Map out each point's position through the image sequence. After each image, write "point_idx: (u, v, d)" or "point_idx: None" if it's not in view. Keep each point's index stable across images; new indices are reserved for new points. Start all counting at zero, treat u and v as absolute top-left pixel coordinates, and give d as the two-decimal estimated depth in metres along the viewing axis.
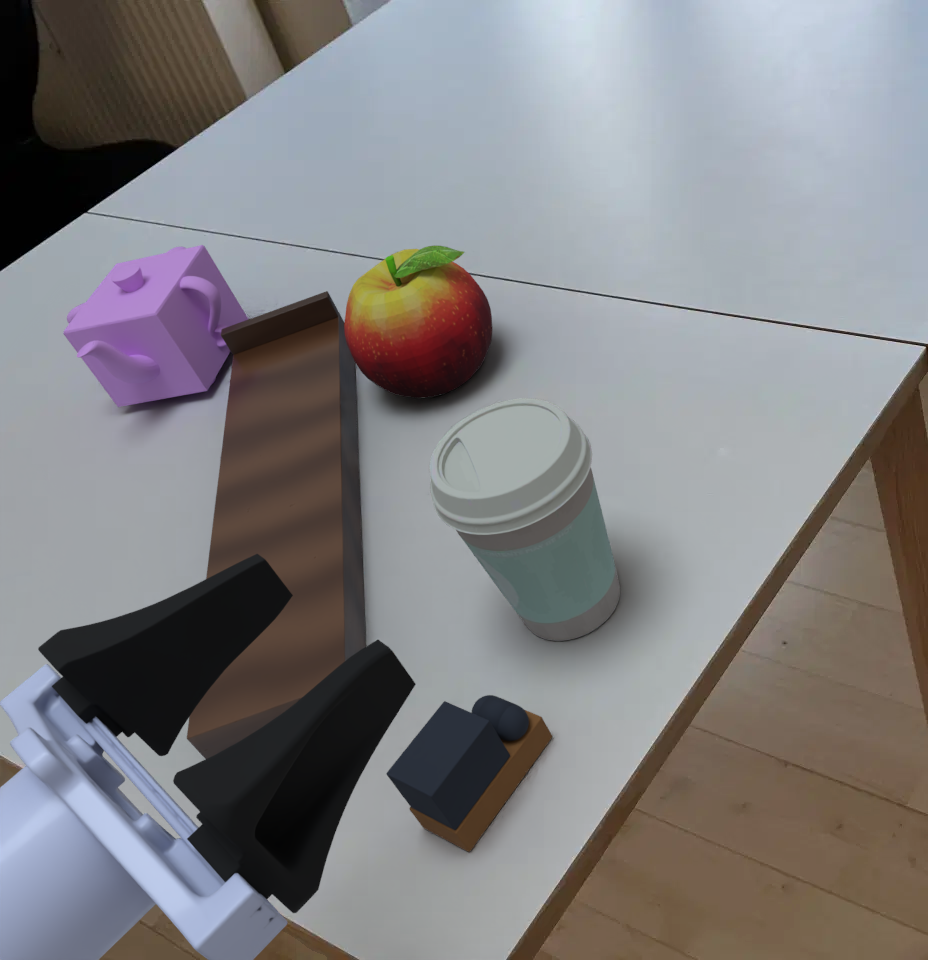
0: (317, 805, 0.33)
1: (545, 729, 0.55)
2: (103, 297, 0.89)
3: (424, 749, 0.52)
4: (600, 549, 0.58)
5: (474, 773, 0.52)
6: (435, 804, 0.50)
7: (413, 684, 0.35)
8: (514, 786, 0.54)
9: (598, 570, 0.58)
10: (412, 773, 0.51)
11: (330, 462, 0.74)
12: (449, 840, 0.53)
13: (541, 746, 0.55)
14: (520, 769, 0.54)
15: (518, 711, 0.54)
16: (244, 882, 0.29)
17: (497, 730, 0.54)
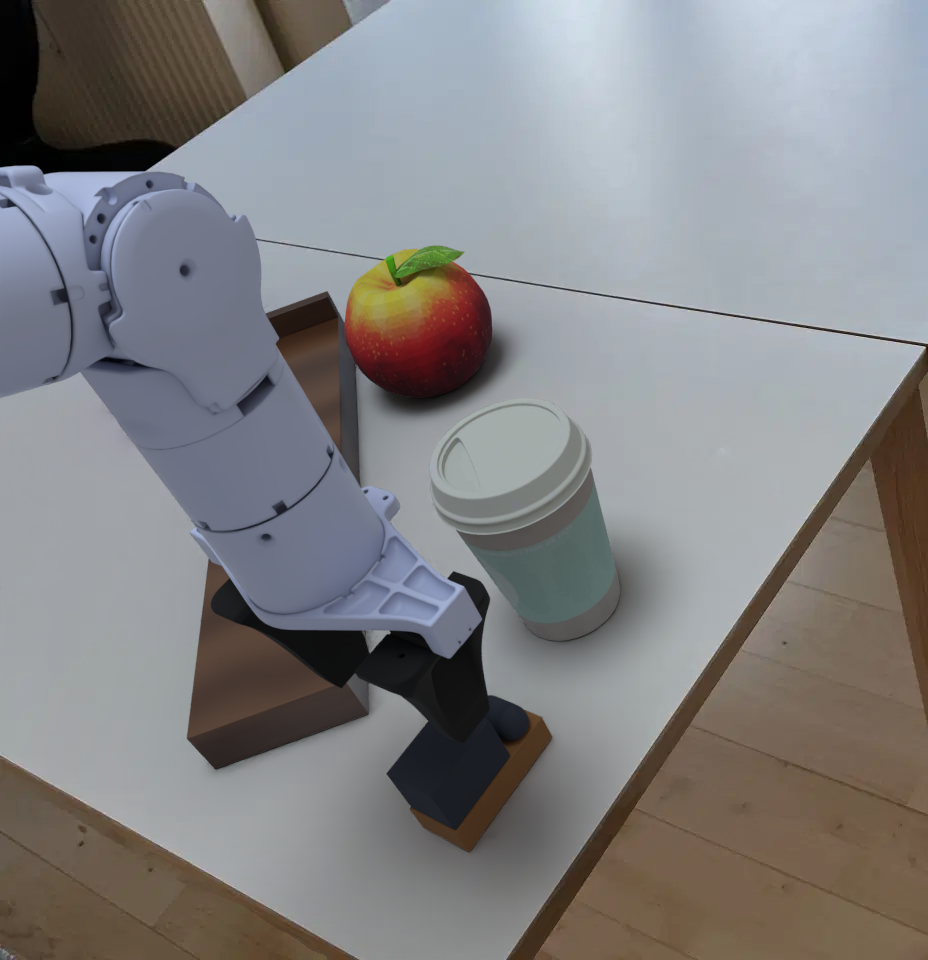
0: None
1: (545, 729, 0.55)
2: None
3: (424, 749, 0.52)
4: (600, 549, 0.58)
5: (474, 773, 0.52)
6: (435, 804, 0.50)
7: (465, 740, 0.46)
8: (514, 786, 0.54)
9: (598, 570, 0.58)
10: (412, 773, 0.51)
11: None
12: (449, 840, 0.53)
13: (541, 746, 0.55)
14: (520, 769, 0.54)
15: (518, 711, 0.54)
16: None
17: (497, 730, 0.54)
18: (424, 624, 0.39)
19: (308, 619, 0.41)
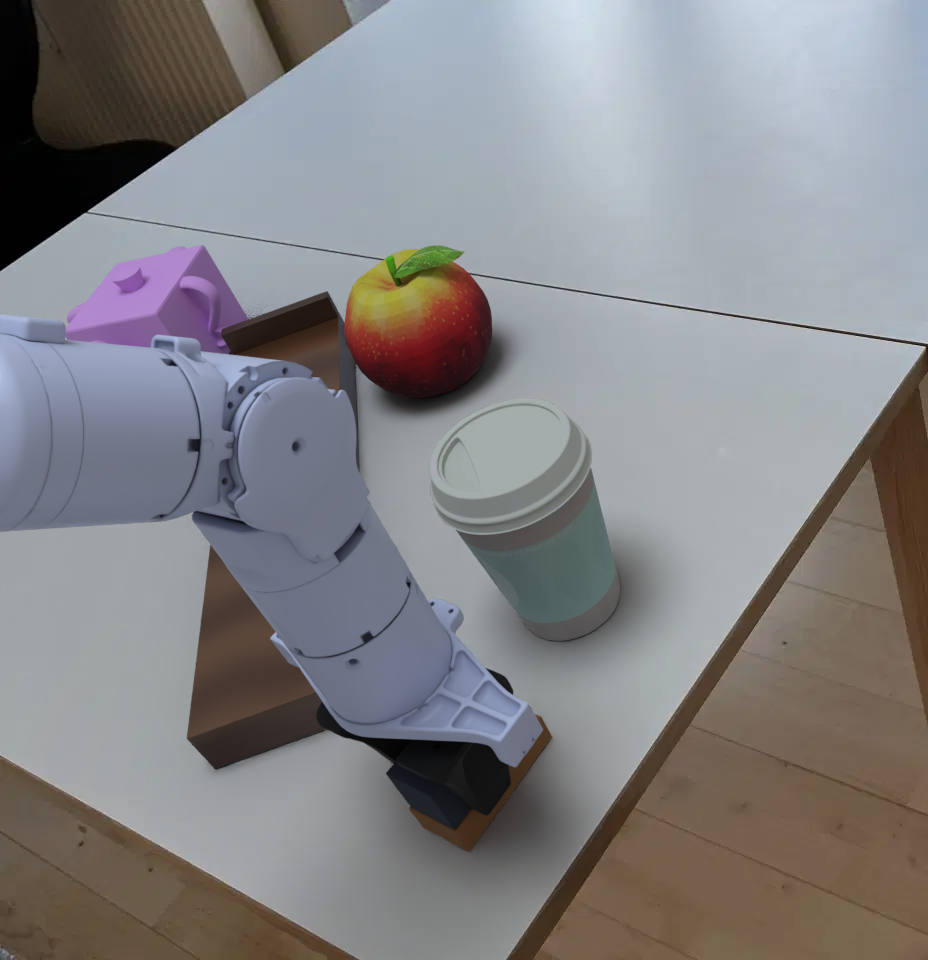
0: None
1: (544, 729, 0.55)
2: (103, 297, 0.89)
3: None
4: (600, 549, 0.58)
5: None
6: (434, 804, 0.50)
7: (489, 812, 0.52)
8: (514, 786, 0.54)
9: (598, 570, 0.58)
10: (411, 773, 0.51)
11: None
12: (449, 840, 0.53)
13: (541, 745, 0.56)
14: (520, 769, 0.54)
15: None
16: None
17: None
18: (494, 739, 0.43)
19: (387, 730, 0.45)
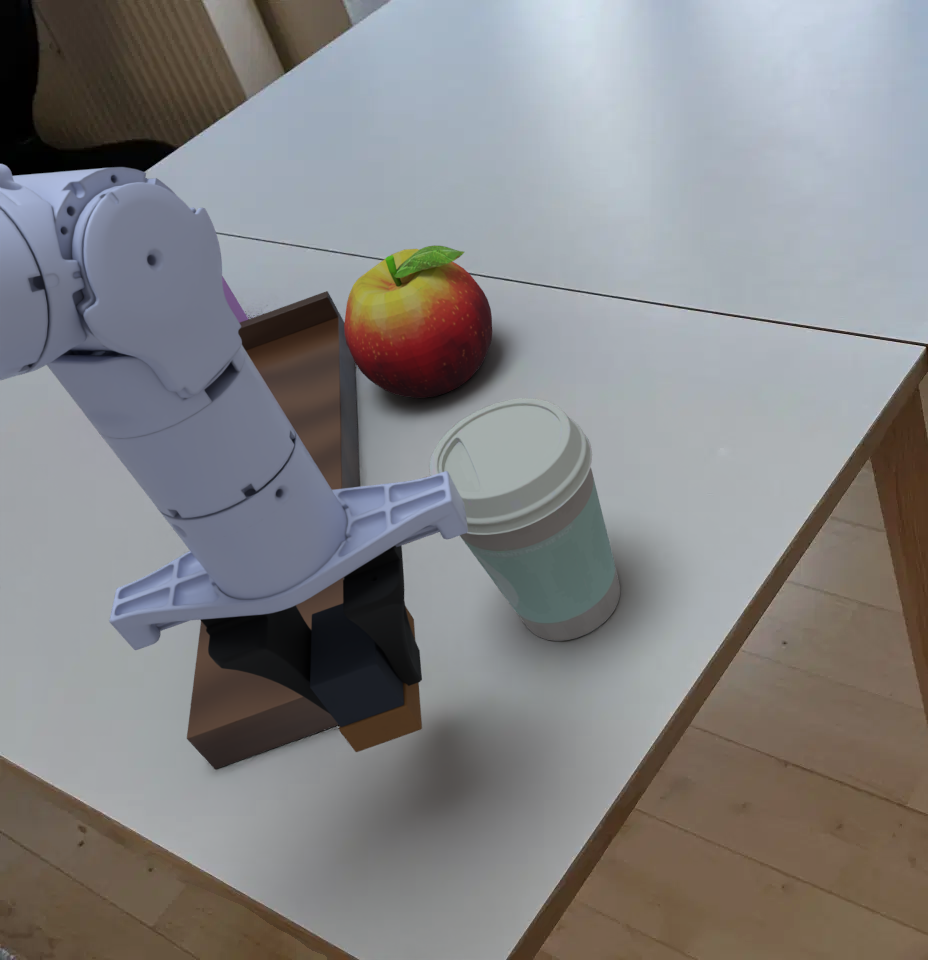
0: None
1: (407, 610, 0.54)
2: None
3: (330, 648, 0.48)
4: (600, 549, 0.58)
5: None
6: (380, 674, 0.47)
7: (421, 677, 0.50)
8: None
9: (598, 570, 0.58)
10: (337, 667, 0.47)
11: (330, 462, 0.74)
12: (395, 734, 0.49)
13: (412, 626, 0.54)
14: None
15: None
16: None
17: None
18: (443, 503, 0.44)
19: (330, 569, 0.43)
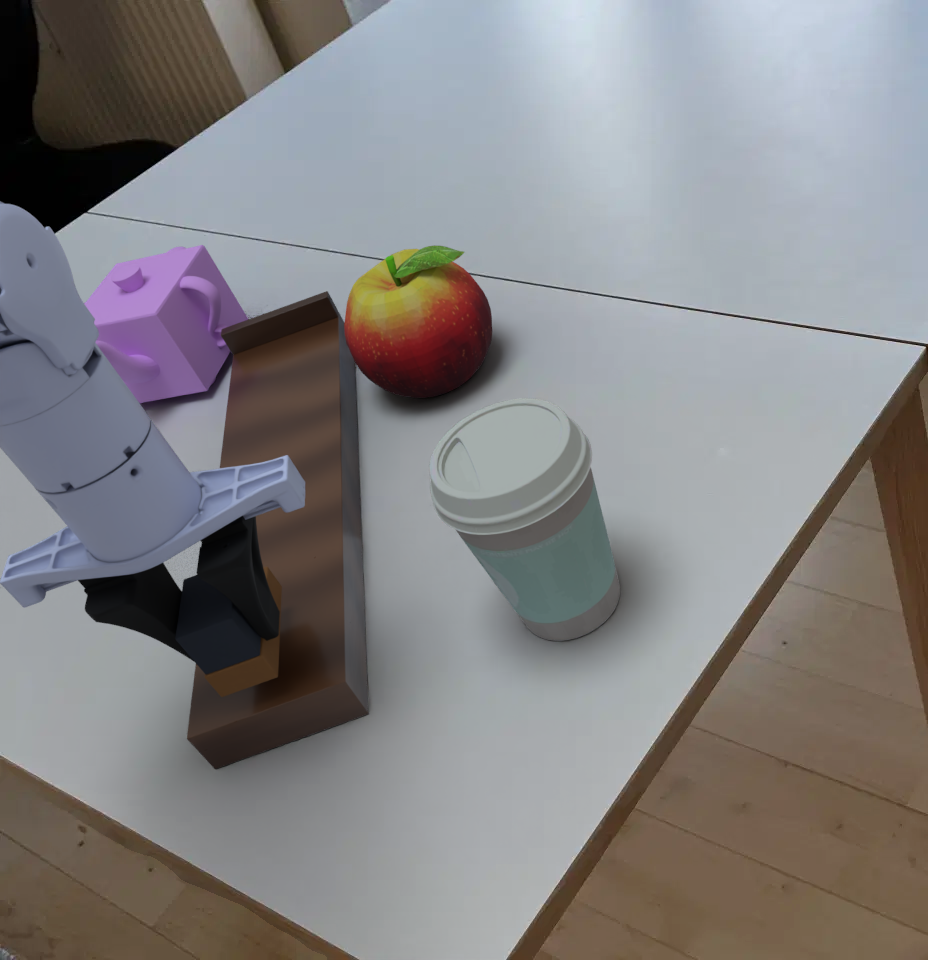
0: None
1: (274, 578, 0.63)
2: (103, 297, 0.89)
3: (195, 607, 0.56)
4: (600, 549, 0.58)
5: None
6: (236, 628, 0.55)
7: (278, 633, 0.58)
8: None
9: (598, 570, 0.58)
10: (199, 622, 0.55)
11: (330, 462, 0.74)
12: (254, 681, 0.58)
13: (279, 592, 0.62)
14: None
15: None
16: None
17: None
18: (280, 481, 0.52)
19: (182, 537, 0.51)
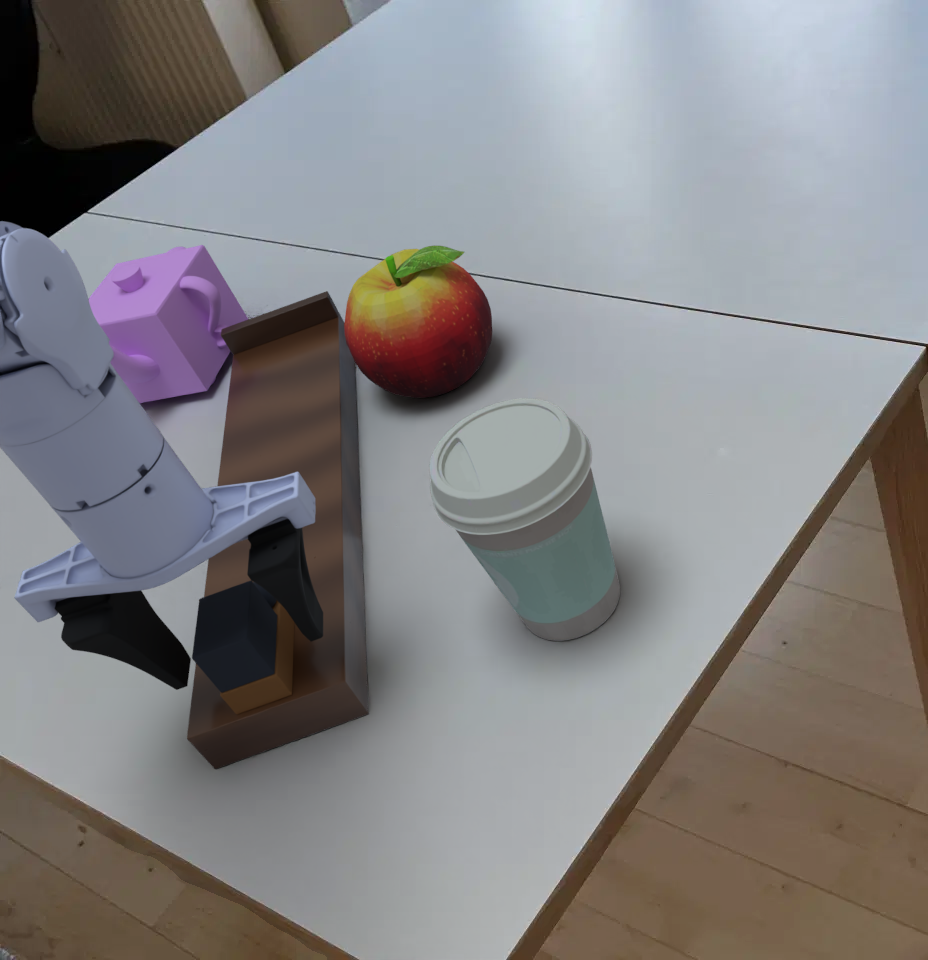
0: None
1: None
2: (103, 297, 0.89)
3: (211, 626, 0.57)
4: (600, 549, 0.58)
5: (263, 625, 0.59)
6: (251, 648, 0.56)
7: (322, 634, 0.59)
8: (292, 642, 0.62)
9: (598, 570, 0.58)
10: (215, 641, 0.56)
11: (330, 462, 0.74)
12: (269, 699, 0.59)
13: None
14: (289, 627, 0.62)
15: None
16: None
17: None
18: (291, 498, 0.53)
19: (195, 553, 0.52)
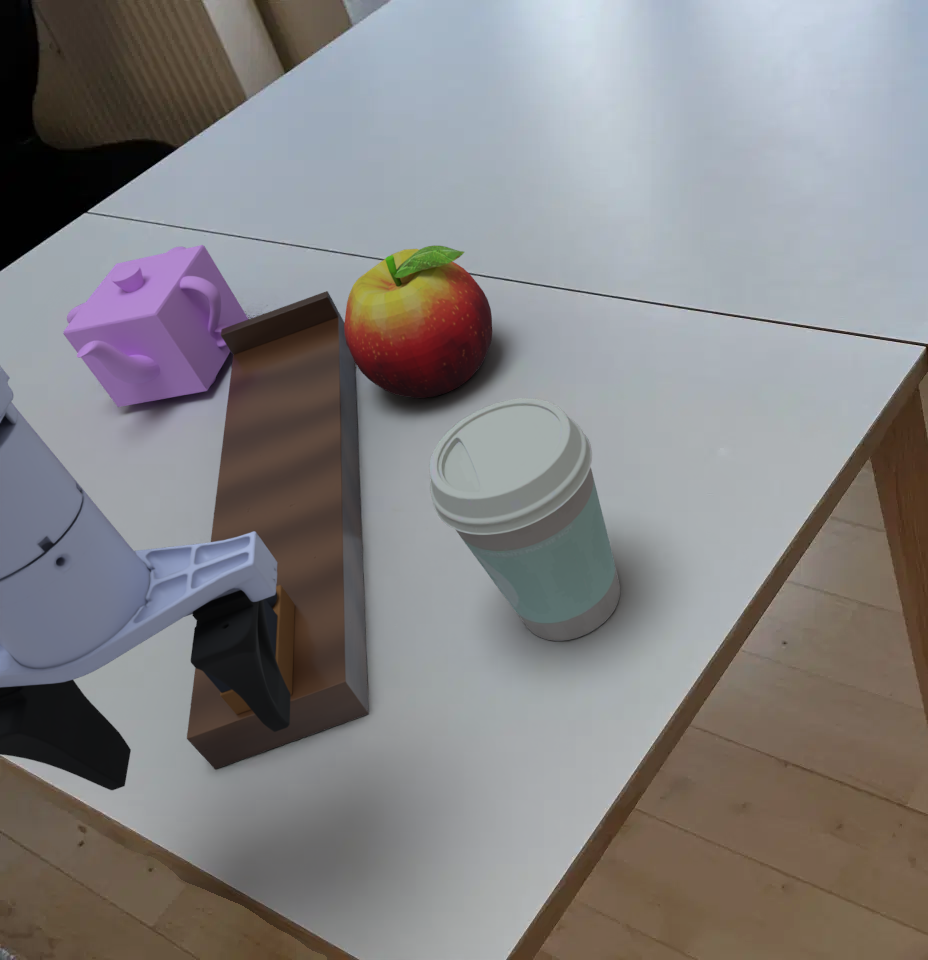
0: None
1: (287, 596, 0.64)
2: (103, 297, 0.89)
3: None
4: (600, 549, 0.58)
5: None
6: None
7: (288, 722, 0.49)
8: (292, 642, 0.62)
9: (598, 570, 0.58)
10: None
11: (330, 462, 0.74)
12: None
13: (292, 610, 0.63)
14: (289, 627, 0.62)
15: None
16: None
17: None
18: (245, 566, 0.43)
19: (124, 637, 0.41)
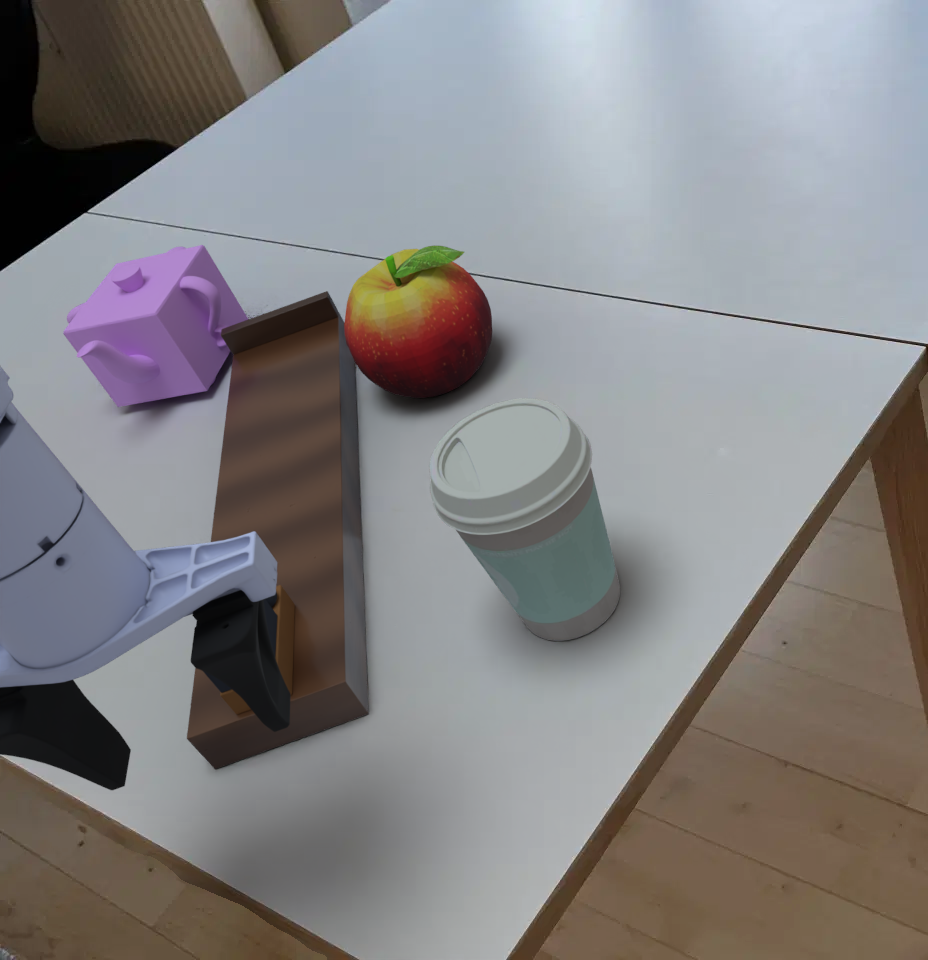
0: None
1: (287, 596, 0.64)
2: (103, 297, 0.89)
3: None
4: (600, 549, 0.58)
5: None
6: None
7: (288, 722, 0.49)
8: (292, 642, 0.62)
9: (598, 570, 0.58)
10: None
11: (330, 462, 0.74)
12: None
13: (292, 610, 0.63)
14: (289, 627, 0.62)
15: None
16: None
17: None
18: (245, 566, 0.43)
19: (124, 637, 0.41)
